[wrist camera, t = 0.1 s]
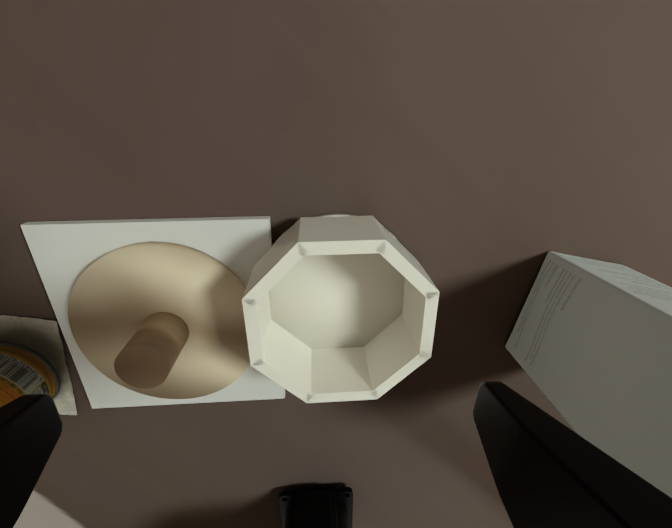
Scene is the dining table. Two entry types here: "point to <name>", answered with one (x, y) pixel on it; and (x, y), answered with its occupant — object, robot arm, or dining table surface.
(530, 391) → the dining table surface
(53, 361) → the condiment
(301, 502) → the robot arm
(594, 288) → the skincare box
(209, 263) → the lid
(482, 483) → the dining table surface
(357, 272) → the bowl
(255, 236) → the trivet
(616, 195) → the dining table surface
